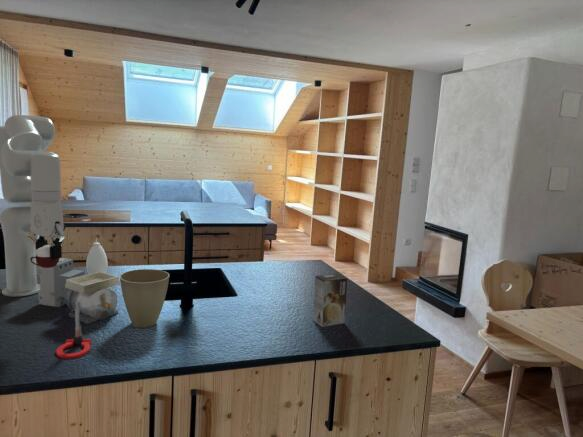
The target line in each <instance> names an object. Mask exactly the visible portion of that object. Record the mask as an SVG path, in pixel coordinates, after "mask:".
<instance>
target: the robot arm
mask: <svg viewBox="0 0 583 437" xmlns="http://www.w3.org/2000/svg"><path fill="white" fill-rule="evenodd" d="M55 137H56V127H55V124H54V123H53V121H52V120H51V119H50V118H49V117H46V116H41V115H40V116H39V115H24V114H16V115H15V114H14V115H11V116H9V117H8V118H7V119H6V120H5V122H4V125H2V126H0V183H1V192H2V197H3V199H4V201H5V202H7V203H11V204H30V203H31V204H30V206H29V205H28V206H14V207H13V206H12V207H11V206H10V207H8V208H5V209H3V210H2V211H1V213H0V226H1V231H2V236H3V242H4V258H5V259H4V260H5V276H6V279H5V282H6V287H4V288H2V290H1V293H2V295H3V296H6V297H13V298H15V297H17V298H18V297H26V296H30V295H35V294H37V293H38V291H40V283H38V278H37V275H38V274H37V265H35V264H33V263H32V262H31V261H30V259H31V257H36V250H37V249H38V248H41V247H43V246H45V245H48V239H49V243H50V259H51V260H53V259H58V258H63V257H62V256H63V255H62V254H63V253H62V246H63V242H64V239H65V237H66V233H65V230H64V231H63V228H64V227H63V225H64V214H63V207H62V203H61V202H62V179H61V178H62V176H61V175H62V173H61V172H62V170H61V157H60V156H59V155H58V154H56V153H55V151H54V152H53V151H48V150H47V149H48V148H49V146H50V145H52V143H53V141H54V139H55ZM46 150H47V151H46ZM28 233H30V234H31V233H32V234H33V236H34V240H33V239H32V238H31V237H30V236H29V235H28ZM47 238H48V239H47ZM54 238H55V239H54ZM32 261H33V262H34V263H36V264H37V261H36V258H33V259H32Z"/></svg>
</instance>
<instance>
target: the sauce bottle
mask: <svg viewBox="0 0 583 437" xmlns="http://www.w3.org/2000/svg"><path fill="white" fill-rule="evenodd" d="M86 256H87V257H86V261H85V262H86V265H85V266H86V271H87V274H92V273H96V272H100V271H102V272H105V273H107V272H108V271H107V270H108V266H109V265H108V264H109V263H108V262H109V261H108V257H107V254H106V252H105V250H104V248H103V246H102V245H101V243H100V242H98V237H97V236H96V237H95V242H93V244H92V246H91V247H90V249H89V250H88V253H87V255H86Z"/></svg>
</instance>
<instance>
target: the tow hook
mask: <svg viewBox="0 0 583 437" xmlns="http://www.w3.org/2000/svg"><path fill="white" fill-rule="evenodd" d="M75 307H76V309H75V310H74V311H75V318H74V321H75V322H74V323H75V327H74V331H75V333H74V334H75V335H74V336H73V339H66V340H65V343H63V344H61V345H60V346H58V347H56V348H57V349H56V351H55V355H56V356H57V357H58V358H61V359H64V360H65V359H67V360H68V359H77V358H80V357H83V356H85V355H87V354H88V353H89V352H90V350H91V345H92V342H93V340H92V339H91V338H90V339H89V338H88V339H87V338H86V339H85V338H84V334H82V326H81V321H80V309H79V305H78V301H77V302H75ZM78 345H79V346H80V347H82V348H83V349H82V350H80V351H78V352H74V353H66V352H64V351H65V350H66V349H68V348H70V347H73V346H78Z"/></svg>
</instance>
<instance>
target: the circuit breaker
mask: <svg viewBox="0 0 583 437" xmlns="http://www.w3.org/2000/svg"><path fill="white" fill-rule="evenodd" d="M36 273H37V275H39V284H40V291H38V294H37V298H38V301H39V302H38V305H43V306H49V307H56V308H60V307H62V306H64V305H66V302H65V294H66V291H67V289H68V288H66V287H65V284H66V279H71V278H75V277H79V276H83V275H86V274H85V270H79V269H75V268H74V259H73V258H65V257H61V258H60V259H59V262H58V264H57V265H56V266H54V267H51V268H43V267H41V266H36Z"/></svg>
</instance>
